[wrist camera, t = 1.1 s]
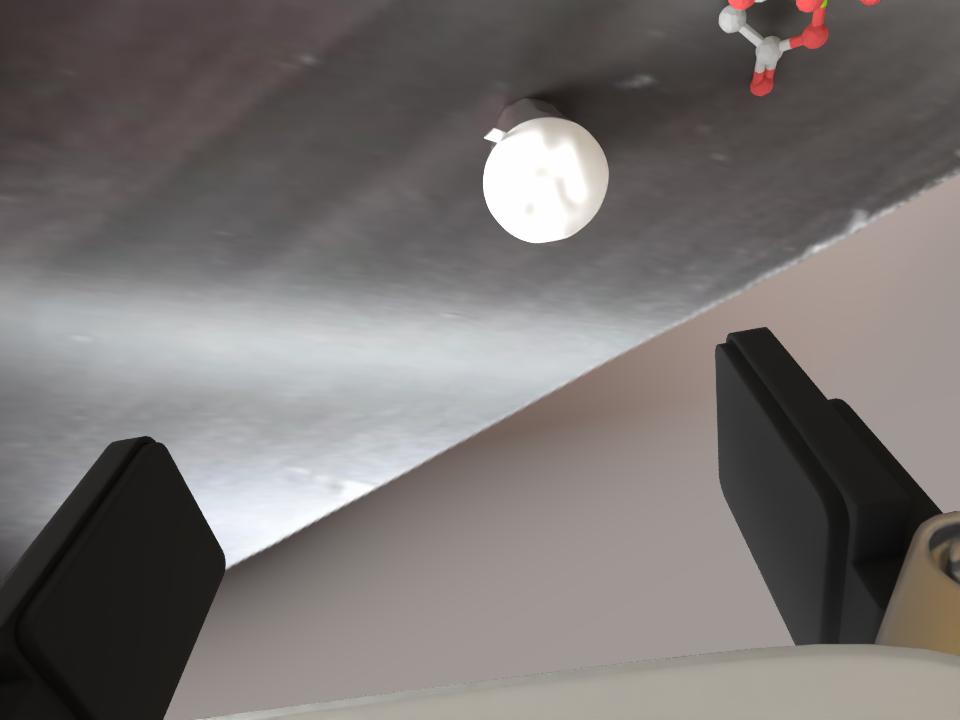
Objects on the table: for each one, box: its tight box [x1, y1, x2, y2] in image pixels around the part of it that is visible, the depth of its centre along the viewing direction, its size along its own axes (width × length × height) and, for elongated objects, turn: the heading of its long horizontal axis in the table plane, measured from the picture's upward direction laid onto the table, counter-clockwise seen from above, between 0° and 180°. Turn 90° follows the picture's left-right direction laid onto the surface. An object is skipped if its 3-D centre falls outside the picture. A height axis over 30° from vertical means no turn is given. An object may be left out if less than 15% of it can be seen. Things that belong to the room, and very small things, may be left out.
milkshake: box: [483, 98, 609, 243], centre depth 27 cm, size 4×5×10 cm
